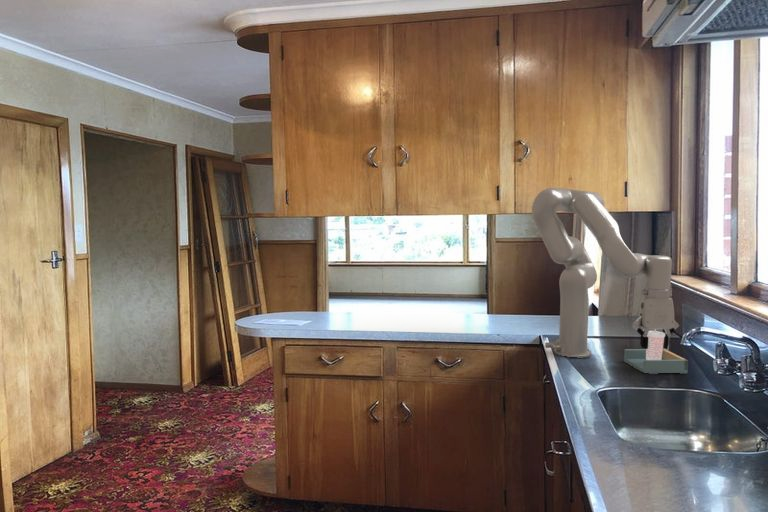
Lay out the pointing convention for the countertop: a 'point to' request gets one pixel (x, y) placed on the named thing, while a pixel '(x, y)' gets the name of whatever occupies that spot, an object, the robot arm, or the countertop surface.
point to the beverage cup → (655, 345)
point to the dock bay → (656, 362)
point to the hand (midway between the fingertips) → (654, 347)
